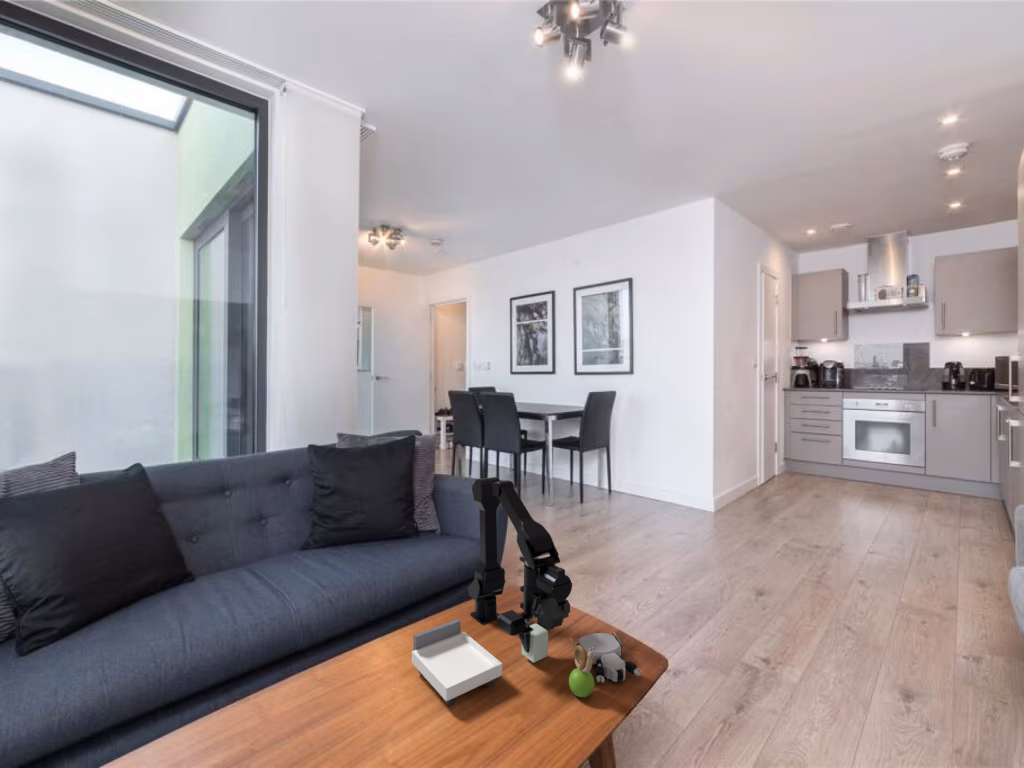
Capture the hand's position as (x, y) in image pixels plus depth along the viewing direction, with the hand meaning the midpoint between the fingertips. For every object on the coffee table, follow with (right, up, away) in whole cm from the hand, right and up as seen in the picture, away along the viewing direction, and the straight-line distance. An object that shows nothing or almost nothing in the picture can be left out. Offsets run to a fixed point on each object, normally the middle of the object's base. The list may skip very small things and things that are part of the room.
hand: (534, 648), depth 112 cm
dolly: (-18, -3, -8) cm, 20 cm away
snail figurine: (+10, -3, -13) cm, 16 cm away
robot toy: (+17, -4, -2) cm, 17 cm away
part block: (0, -2, 0) cm, 2 cm away
